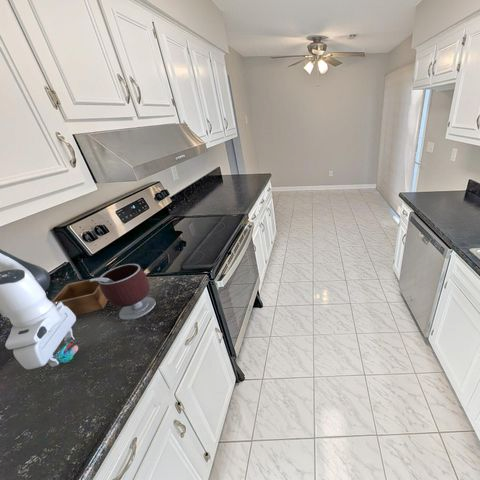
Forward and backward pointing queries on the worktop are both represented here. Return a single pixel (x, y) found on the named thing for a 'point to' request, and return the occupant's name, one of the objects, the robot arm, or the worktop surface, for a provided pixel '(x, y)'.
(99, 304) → the crate
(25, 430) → the worktop surface
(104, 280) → the mate gourd
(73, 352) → the anatomy model
